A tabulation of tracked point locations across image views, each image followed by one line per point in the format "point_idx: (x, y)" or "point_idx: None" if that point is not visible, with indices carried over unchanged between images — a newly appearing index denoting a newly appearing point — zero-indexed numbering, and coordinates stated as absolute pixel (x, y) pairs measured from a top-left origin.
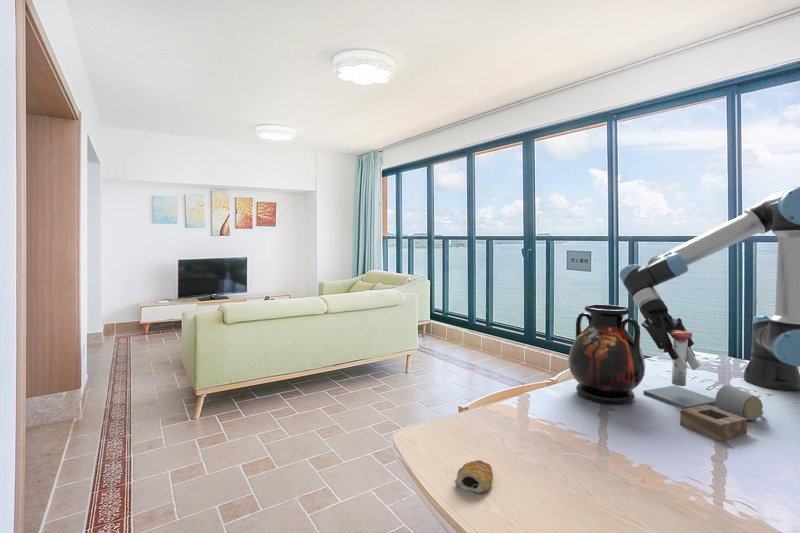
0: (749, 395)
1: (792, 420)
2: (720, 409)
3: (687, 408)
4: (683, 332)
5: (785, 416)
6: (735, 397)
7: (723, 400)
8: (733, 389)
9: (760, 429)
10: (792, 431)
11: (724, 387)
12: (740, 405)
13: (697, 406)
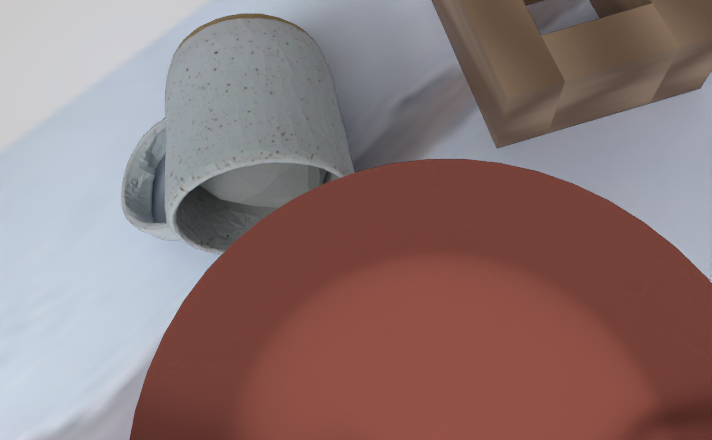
0: (240, 26)
1: (46, 122)
2: (477, 31)
3: (679, 45)
4: (397, 394)
5: (22, 166)
6: (309, 68)
7: (346, 139)
8: (261, 98)
9: (312, 38)
10: (185, 21)
11: (286, 142)
12: (322, 54)
13: (592, 70)
